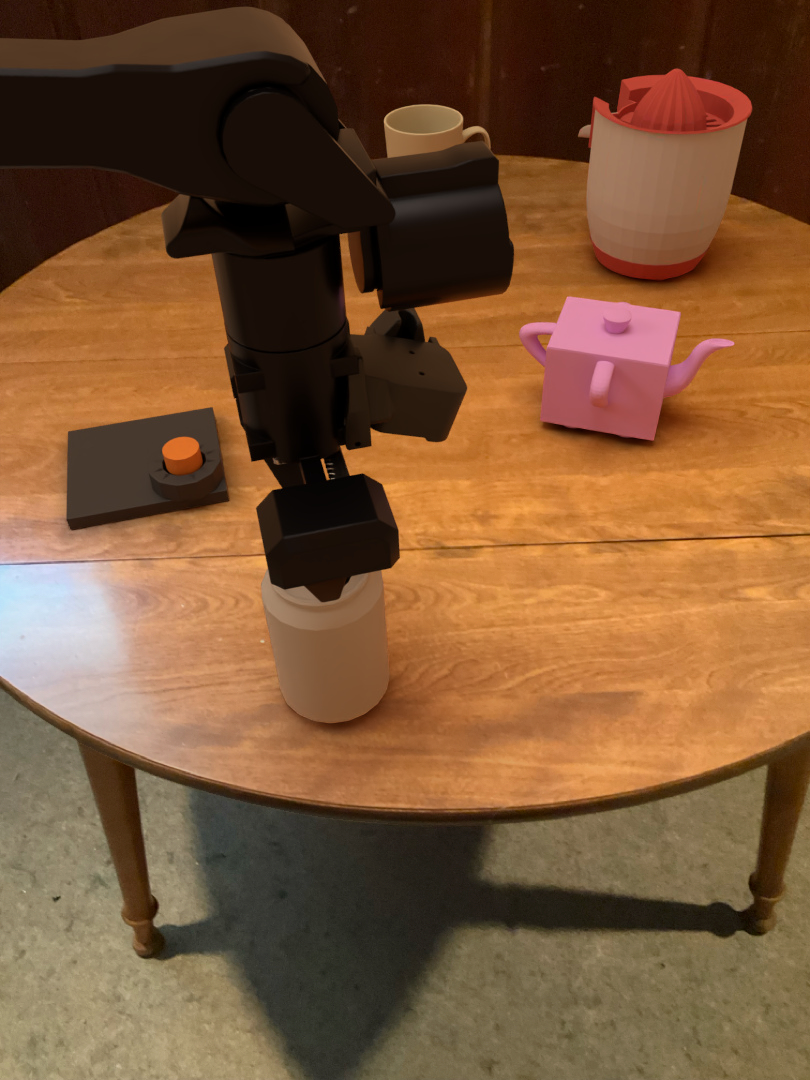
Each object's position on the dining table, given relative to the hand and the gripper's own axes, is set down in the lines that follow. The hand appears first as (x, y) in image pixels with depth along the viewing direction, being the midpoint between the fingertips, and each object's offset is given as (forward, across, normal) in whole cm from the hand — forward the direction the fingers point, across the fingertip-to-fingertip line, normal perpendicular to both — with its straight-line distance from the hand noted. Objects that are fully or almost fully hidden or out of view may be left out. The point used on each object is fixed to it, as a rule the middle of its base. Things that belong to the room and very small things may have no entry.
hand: (317, 552), depth 55 cm
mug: (+13, +66, -25) cm, 72 cm away
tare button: (+10, +24, +8) cm, 27 cm away
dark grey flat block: (+13, +27, +12) cm, 32 cm away
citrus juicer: (+13, +50, -45) cm, 68 cm away
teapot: (+13, +23, -30) cm, 40 cm away
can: (+13, 0, 0) cm, 13 cm away
